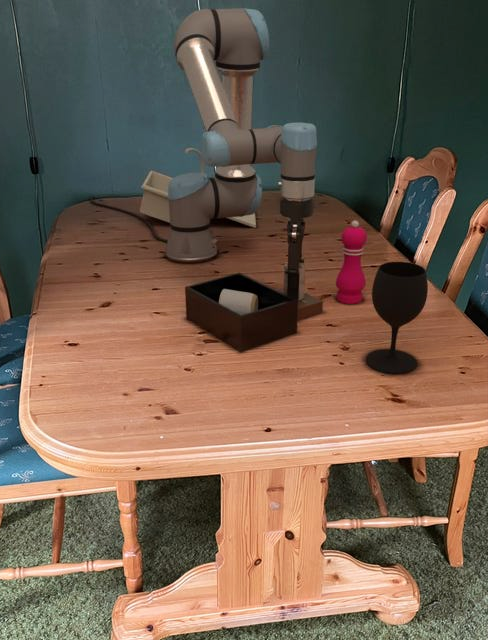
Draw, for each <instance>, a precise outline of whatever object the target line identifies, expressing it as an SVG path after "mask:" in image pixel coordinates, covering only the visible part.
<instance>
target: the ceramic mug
mask: <svg viewBox="0 0 488 640" xmlns="http://www.w3.org/2000/svg"><path fill="white" fill-rule="evenodd" d="M219 304H221V305H223V306H225V307H227V308H229V309H230V310H232V311H234V312H236V313H238V314H240V315H244V314H247V313H251V312H254V311H257V310H258V297H257V295H255V294H252V293H248V292H241V291H234V290H228V289H223V290H222V292H221V294H220V298H219Z"/></svg>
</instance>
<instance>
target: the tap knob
mask: <svg viewBox="0 0 488 640" xmlns="http://www.w3.org/2000/svg"><path fill="white" fill-rule="evenodd" d="M287 270H288V262H285V263H284V265H283V288H284V290H283V293H284V294H287V282H288V274H285V271H287ZM299 273H300V277H299V300H302V299H303V298H304V293H305V286H306V285H305V284H306V263H300V262H299ZM299 300H298V301H299Z"/></svg>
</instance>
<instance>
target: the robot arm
mask: <svg viewBox="0 0 488 640" xmlns="http://www.w3.org/2000/svg"><path fill="white" fill-rule="evenodd" d="M173 43H174V44H173V45H174V46H173V50H174V56H175V60H176V63H177V65H178V66H179V68H180V69H181V70H182V71H184V73H185V76H186V79H187V81H188V85H189V88H190V91H191V92H192V96H193V99H194V102H195V105H196V108H197V111H198V114H199V116H200V117H199V118H200V120H201V123H202V125H203V128H204V131H205V132H204V133H202V136H201V139H200V153H201V154H202V157H203V160H204V165H206V166H208V167H212V168H213V167H215V169H214V176H213V177H210V176H209V174H208V173H207V172H205V171H204V172H201V171H199V172H194V171H193V172H187V173H183V174H179V175H176V176H174V177H172V178H173V179H172V180H171V181H170V182H169V185H168V199H169V214H170V223H169V229H170V231H169V234H168V238H167V239H165V238H163V237H160V236H158V235H157V234H156V231H155V229H154V228H153V226H152V225H151V223H150V222H149V221H148V220H147V219H145V218H144V217H142V216H141V215H139V214H137V213H135V212H132V211H129V210H127V209H123V208H120V207H116V206H112V205H108V204H105V203H101V202H97V201H94V195H90V202H91V203H92V204H94V205H97V206H101V207H105V208H109V209H113V210H116V211H120V212H122V213H126V214H129V215H132V216H134V217H136V218H138V219H140V220H141V221H143V222H144V223H145V224H146V225H147V226H148V227H149V228H150V230H151V232H152V235H153V237H154V238H155V239H157V240H159V241H161V242H164V243H166V247H165V257H166V258H167V260H169V261H172V262H174V263H175V262H176V263H181V264H197V263H203V262H209V261H211V260H213V259H215V258H217V256H218V248H217V245H216V243H217V242H218V241H217V238H214V236H213V233H212V231H211V220H216V219H228V218H227V217H243V216H246V215H252V214H254V213H255V214H256V212H257V211H258V210H259V208H260V205H261V203H262V197H263V187H262V179H261V177H260V176H259V175H258V174H256V169H255V167H253V166H252V165H260V164H273V163H278V164H280V181H278V182H277V186H279V187H280V196H281V198H280V199H279V214H280V216H282V217H284V218H289V219H290V220H287V224H286V232H287V239H286V240H287V247H288V248H287V263H288V270H287V271H285V274H288V282H287V295H289V296H291V297H293V298H295V299H297V300H299V277H300V273H299V262H300V263H303V264H305V259H304V258H303V259H302V257H303V240H304V237H305V229H306V221H305V219H307V218H309V217H312V216H313V214H314V207H315V206H314V205H315V199H314V198H313V197H314V196H315V192H316V191H315V189H316V162H317V146H318V140H317V139H318V138H317V127H316V126H315V125H314V124H313V123H311V122H310V123H309V122H289V123H285V124H284V125H277V124H274V125H273V124H272V125H269V126H267V127H265V128H264V127H263V128H253V110H254V109H253V105H254V79H255V74H256V73H257V72H259V70H260V68H261V61H263V60H266V59H267V57H268V55H269V50H270V35H269V30H268V25H267V22H266V19H265V17H264V15H263V14H262V13H261V11H259V10H257V9H253V8H244V7H241V8H239V7H238V8H201V9H198V10H195V11H193V12H192V13H190V14H189V15H187V17H185V19H184V20H183V21H182V22H181V24H179V26H178V29H177V31H176V33H175V37H174V41H173Z"/></svg>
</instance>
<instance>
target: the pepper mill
mask: <svg viewBox="0 0 488 640" xmlns="http://www.w3.org/2000/svg"><path fill="white" fill-rule="evenodd" d="M350 225H351V226H348V227H346V228H345V229H344V230H343V231H342V233H341V237H340V239H341V242H342V244H343V246H342V253H343V258H344V259H343V264H342V267H341V268H340V270H339V271H338V273H337V276H336V279H335V286H336V288H337V289H338V290H337V292H336V300H337V301H338V302H340V303H342V304H348V305H354V304H355V305H356V304H359V303H362V301H363V294H364V293H363V292H362V291H363V290H364V289H365V287H366V277H365V273H364V270H363V267H362V264H361V263H362V255H364V249H365V247H364V245H365V244H366V243H367V241H368V236H367V232H366V230H365V229H364V228H363V227H360V222H359V221H358V220H352V221H351V224H350Z"/></svg>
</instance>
